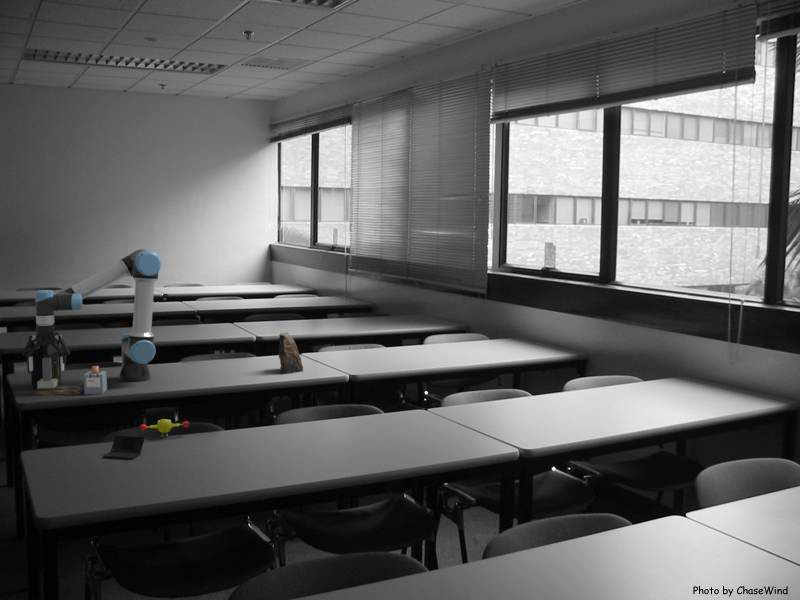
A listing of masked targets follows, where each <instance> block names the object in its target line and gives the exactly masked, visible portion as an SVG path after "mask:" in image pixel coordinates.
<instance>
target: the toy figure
mask: <svg viewBox="0 0 800 600" xmlns="http://www.w3.org/2000/svg"><path fill="white" fill-rule="evenodd" d="M179 426H182V427H183V428H189V427H190V422H189V421H188V420H185V421H182V423H172V421H171V419H168V418H162V419H159V420H158V421H157V424H155V425H150V426H147V425H146V424H145V423H142V424H141V423H140V425H139V426H138V430H139V431H141V432H143V431H145V430H147V428H148V429H157V430H158V432H159V433H161V436H160V437H161V438H164V434H165V437H167V438H168V437H169V434H168V433H169V432H170V431H171V430H172V428H174V427H179Z"/></svg>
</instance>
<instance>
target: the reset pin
mask: <svg viewBox="0 0 800 600" xmlns="http://www.w3.org/2000/svg"><path fill="white" fill-rule="evenodd" d="M91 371H92V374H97V378H98V374H99V371H100V367H99V365H94V366H91Z"/></svg>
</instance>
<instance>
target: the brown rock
mask: <svg viewBox="0 0 800 600" xmlns="http://www.w3.org/2000/svg"><path fill="white" fill-rule="evenodd" d="M278 336H279V339H278V341H279V346H278V352H279V353H278V358H279V360H280V361H279V362H280V373H281V374H284V375H287V374H294V373H300V372H302V373H303V372H304V366H303V362H302V358H301V355H300V353H299V350H298V346H297V344H296V342H295V340H294V338H293V336H291V335H290V333H288V331H286V332H281V333H280V334H279V335H278Z"/></svg>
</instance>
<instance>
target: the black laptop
mask: <svg viewBox="0 0 800 600" xmlns="http://www.w3.org/2000/svg"><path fill="white" fill-rule="evenodd" d="M144 443H145V437H143V436H130V435H126V436H125V435H115V437H114V439H113V443H112V446H111V450H110V451H109V452H107V453H105V454H104V455H102V459H111V460H124V461H125V460H126V461H127V460H129V461H132V460H135V459H136V458H138V457H139V456H141V455H142V454H141V453H142V449H143V446H144Z"/></svg>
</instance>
